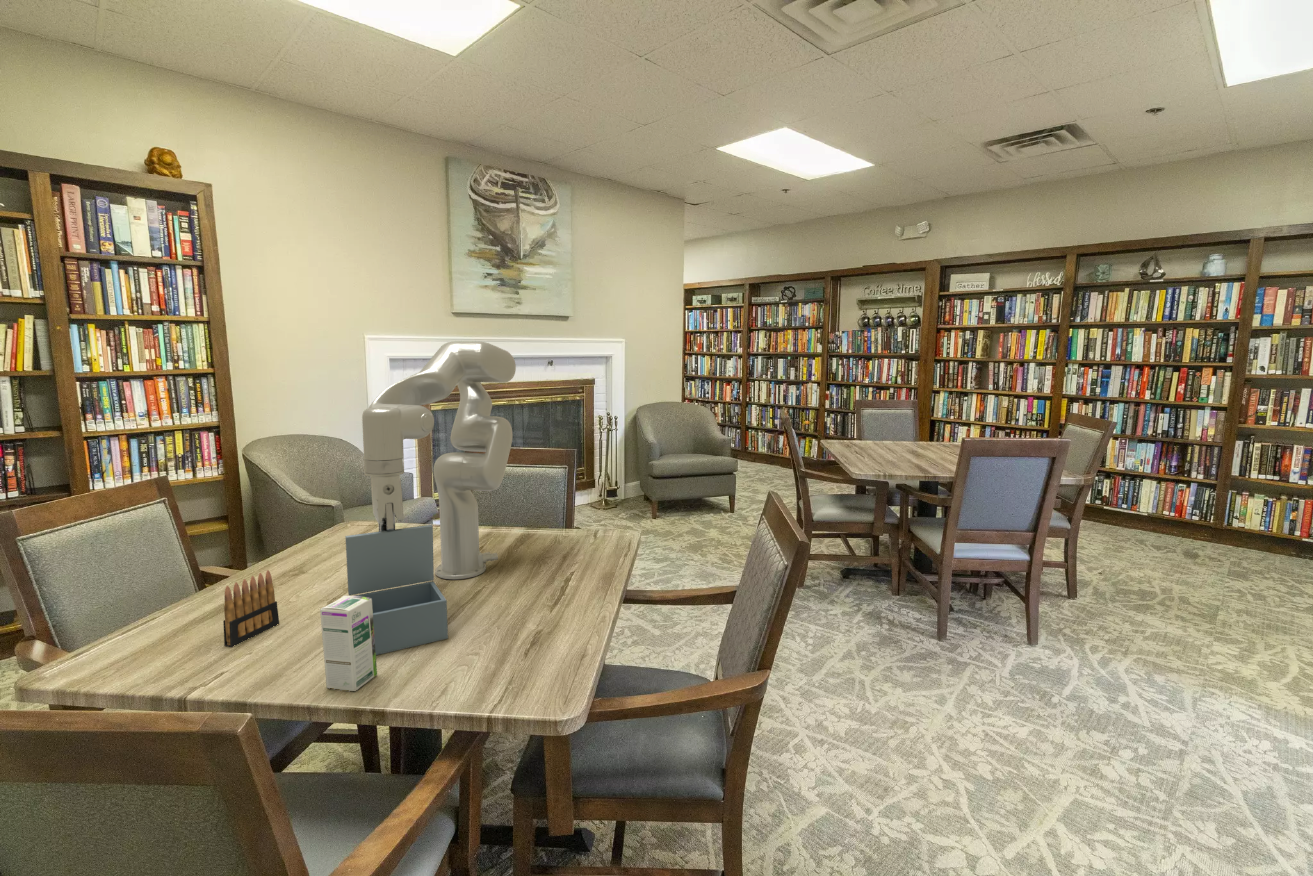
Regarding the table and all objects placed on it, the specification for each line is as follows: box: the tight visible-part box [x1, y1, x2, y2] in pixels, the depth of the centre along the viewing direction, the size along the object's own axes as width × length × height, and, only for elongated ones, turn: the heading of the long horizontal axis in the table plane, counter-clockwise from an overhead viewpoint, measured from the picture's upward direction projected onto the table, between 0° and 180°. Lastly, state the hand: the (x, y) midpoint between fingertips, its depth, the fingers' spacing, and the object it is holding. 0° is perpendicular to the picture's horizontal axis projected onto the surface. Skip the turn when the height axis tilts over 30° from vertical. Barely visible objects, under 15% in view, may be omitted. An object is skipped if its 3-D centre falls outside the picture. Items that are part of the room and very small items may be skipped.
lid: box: [344, 524, 435, 596], centre depth 123 cm, size 16×12×1 cm
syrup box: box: [319, 595, 378, 692], centre depth 102 cm, size 6×6×14 cm
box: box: [353, 580, 449, 656], centre depth 119 cm, size 16×12×8 cm
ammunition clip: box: [223, 569, 280, 648], centre depth 119 cm, size 11×2×12 cm, turn 165°
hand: (387, 552), depth 125 cm, fingers closed
